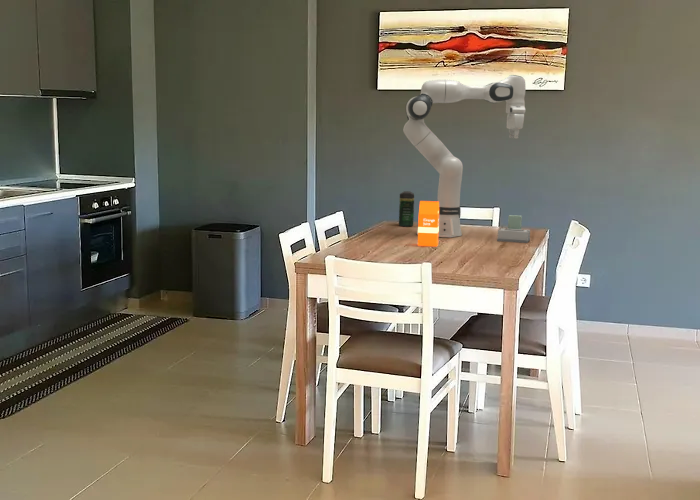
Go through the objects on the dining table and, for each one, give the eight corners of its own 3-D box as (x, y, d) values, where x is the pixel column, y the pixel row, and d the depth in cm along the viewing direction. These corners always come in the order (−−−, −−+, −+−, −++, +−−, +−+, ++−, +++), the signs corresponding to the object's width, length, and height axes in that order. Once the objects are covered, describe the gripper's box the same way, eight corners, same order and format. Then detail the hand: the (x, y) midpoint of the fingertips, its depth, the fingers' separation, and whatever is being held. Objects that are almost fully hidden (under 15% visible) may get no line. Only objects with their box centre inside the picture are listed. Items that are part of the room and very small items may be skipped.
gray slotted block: (497, 241, 366) (497, 230, 365) (500, 238, 375) (501, 227, 374) (527, 243, 361) (527, 232, 360) (529, 240, 370) (530, 229, 369)
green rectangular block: (508, 237, 379) (509, 214, 377) (521, 237, 377) (522, 215, 375) (507, 238, 376) (508, 215, 374) (519, 238, 374) (521, 216, 372)
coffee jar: (413, 227, 410) (414, 192, 407) (398, 226, 411) (399, 191, 408) (413, 224, 419) (414, 190, 416) (399, 224, 420) (399, 190, 417)
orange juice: (436, 246, 348) (438, 202, 345) (417, 245, 350) (418, 201, 347) (438, 243, 356) (439, 200, 352) (419, 242, 358) (420, 200, 354)
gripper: (504, 109, 384) (502, 137, 386) (513, 109, 364) (511, 138, 366) (516, 110, 384) (515, 138, 386) (526, 109, 364) (525, 138, 366)
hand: (513, 138), depth 376 cm, fingers open, 8 cm apart
